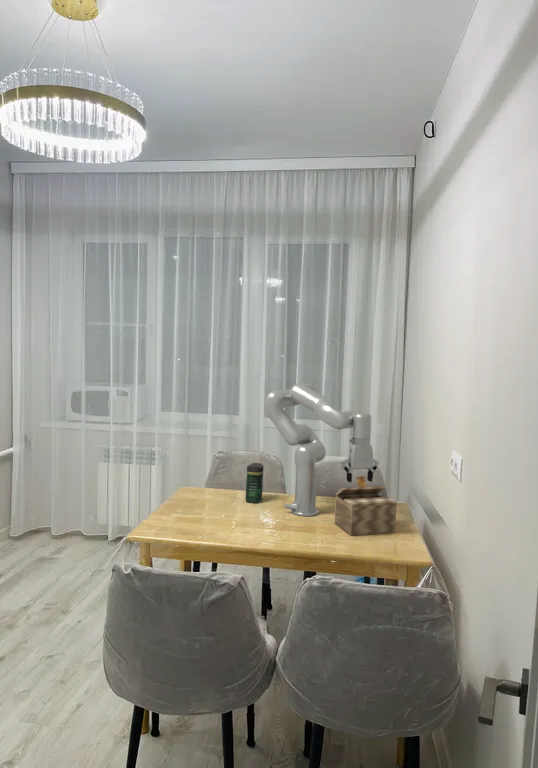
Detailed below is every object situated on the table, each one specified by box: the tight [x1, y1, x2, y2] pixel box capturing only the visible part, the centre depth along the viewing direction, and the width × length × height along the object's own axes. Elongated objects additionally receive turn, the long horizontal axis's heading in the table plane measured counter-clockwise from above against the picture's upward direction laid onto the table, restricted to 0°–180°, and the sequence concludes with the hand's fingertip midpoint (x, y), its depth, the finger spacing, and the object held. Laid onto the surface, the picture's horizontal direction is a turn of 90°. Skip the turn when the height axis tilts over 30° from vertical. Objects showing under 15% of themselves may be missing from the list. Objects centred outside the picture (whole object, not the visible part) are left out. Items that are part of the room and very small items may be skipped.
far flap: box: [335, 475, 386, 497], centre depth 225 cm, size 20×8×6 cm
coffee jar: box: [245, 462, 264, 504], centre depth 256 cm, size 10×8×19 cm
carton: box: [334, 494, 398, 537], centre depth 219 cm, size 20×16×13 cm
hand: (359, 481), depth 225 cm, fingers open, 9 cm apart
